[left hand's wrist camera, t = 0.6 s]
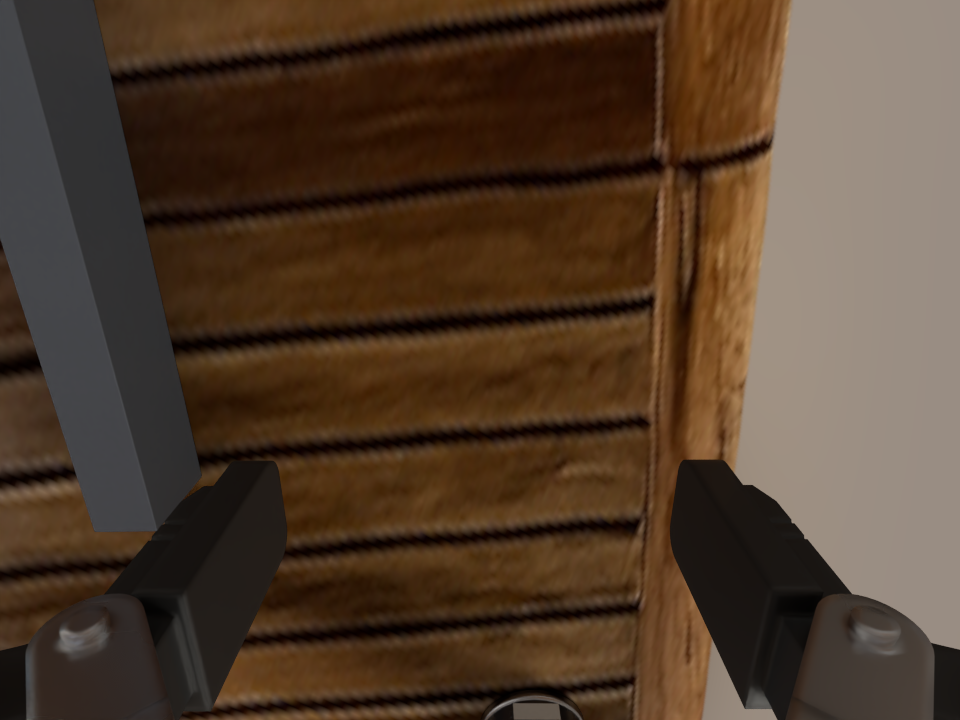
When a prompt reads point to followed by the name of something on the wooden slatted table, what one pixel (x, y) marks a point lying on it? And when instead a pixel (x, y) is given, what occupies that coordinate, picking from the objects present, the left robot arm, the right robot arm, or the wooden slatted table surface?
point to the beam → (88, 267)
